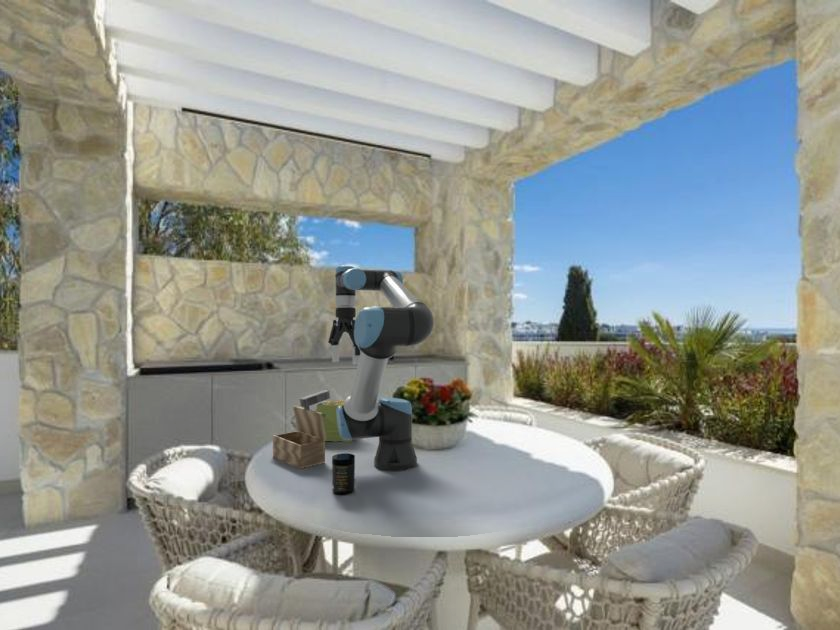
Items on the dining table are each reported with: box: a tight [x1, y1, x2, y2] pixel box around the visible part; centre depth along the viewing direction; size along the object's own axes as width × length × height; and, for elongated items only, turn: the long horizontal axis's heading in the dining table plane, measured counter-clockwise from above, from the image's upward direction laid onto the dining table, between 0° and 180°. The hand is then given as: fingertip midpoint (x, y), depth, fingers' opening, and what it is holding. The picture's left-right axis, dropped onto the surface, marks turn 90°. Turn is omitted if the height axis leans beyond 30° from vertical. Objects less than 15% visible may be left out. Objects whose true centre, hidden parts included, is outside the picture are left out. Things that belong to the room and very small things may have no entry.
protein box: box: [316, 400, 354, 443], centre depth 203 cm, size 10×15×16 cm
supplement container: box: [331, 452, 356, 496], centre depth 141 cm, size 7×7×10 cm
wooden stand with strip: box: [292, 389, 331, 440], centre depth 178 cm, size 20×14×11 cm
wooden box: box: [272, 430, 326, 470], centre depth 173 cm, size 20×10×8 cm, turn 43°
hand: (345, 363), depth 179 cm, fingers open, 13 cm apart
